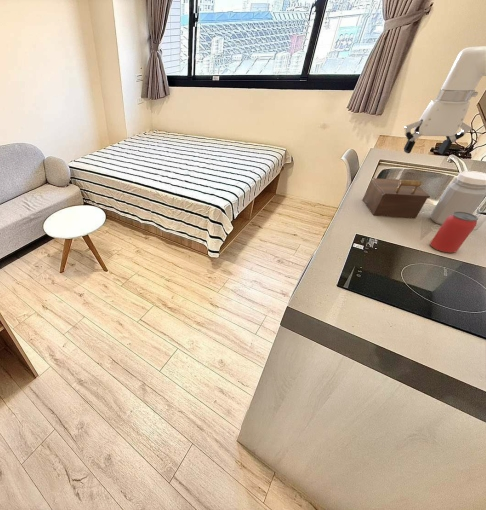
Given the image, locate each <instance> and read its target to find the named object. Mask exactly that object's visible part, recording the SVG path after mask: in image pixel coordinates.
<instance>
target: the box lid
mask: <svg viewBox="0 0 486 510" xmlns="http://www.w3.org/2000/svg"><path fill="white" fill-rule="evenodd" d="M371 180H372V182H373V183H374V184H375V185H376V186H377V188H378V189H379V190H380V191H381V192H382V193H383V195H387V196H403V197H419V198H427V199H430V198H431V195H430V194H428V192H426V191H425V190H424V189H423V188H422V187H420V186H421V185H422V180H413V179H396V178H375V177H374V178H373V177H372V178H371ZM371 180H370V181H371Z"/></svg>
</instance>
